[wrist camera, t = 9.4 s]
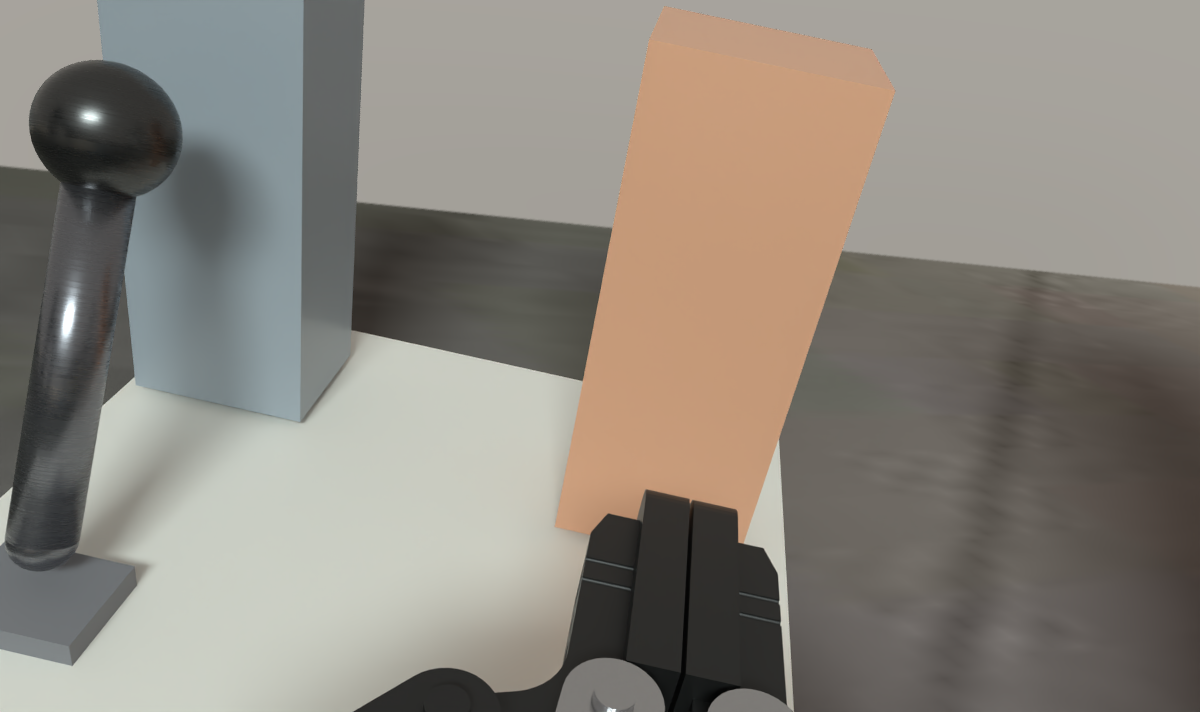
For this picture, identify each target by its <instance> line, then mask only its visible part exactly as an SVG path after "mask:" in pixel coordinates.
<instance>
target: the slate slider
mask: <svg viewBox="0 0 1200 712" xmlns="http://www.w3.org/2000/svg"><path fill="white" fill-rule="evenodd" d="M97 3H98V14H99V24H100V34H101V43H102V54H103V60H106V61H114V62H118V63H122V64H125V65H128V66H130V67H133V68H135V69H137V70H139V71H141V72H142V73H144V74H146V75H147V76H149V77H150V78H151V79H153V80H154V81H155V82H156V83H157V84H158V85H160V86H161V87H162V88H163V90H164V91H165V92H166V93H167V94H168V96H169V97H170V99H171V100H172V102H173V103H174V105H175V107H176V110H177V112H178V114H179V117H180V120H181V125H182V130H183V144H182V151H181V155H180V158H179V160H178V163H177V165H176V167H175V168H174V170H173V172H172V173H171V174H170V176H169V177H168V178H167V179H166V180H165V181H164V182H163V183H162V184H161V185H159V186H158V187H156V188H155V189H154V190H152V191H150V192H148V193H146V194H143V195H141V196H138V197H136V203H135V209H134V215H133V221H132V227H131V234H130V240H129V246H128V252H127V258H126V264H125V270H124V272H125V282H126V292H127V302H128V312H129V322H130V332H131V342H132V352H133V362H134V372H135V382H136V385H137V386H142V387H146V388H151V389H155V390H159V391H164V392H168V393H173V394H177V395H182V396H186V397H191V398H195V399H199V400H204V401H208V402H213V403H217V404H222V405H226V406H231V407H235V408H240V409H244V410H248V411H253V412H257V413H262V414H266V415H271V416H275V417H280V418H284V419H288V420H293V421H297V422H301V420H302V419H303V418H304V416H305V415H306V414H307V412H308V411H309V410H310V408H311V407H312V406H313V404H314V403H315V402H316V400H317V399H318V398H319V396H320V395H321V394H322V392H323V391H324V390H325V388H326V387H327V386H328V384H329V383H330V382H331V380H332V379H333V378H334V376H335V375H336V374H337V372H338V371H339V370H340V368H341V367H342V366H343V364H344V363H345V361H346V360H347V359H348V357H349V356H350V349H351V324H352V299H353V274H354V249H355V224H356V199H357V174H358V149H359V124H360V100H361V75H362V74H361V72H362V50H363V25H364V0H97Z"/></svg>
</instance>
